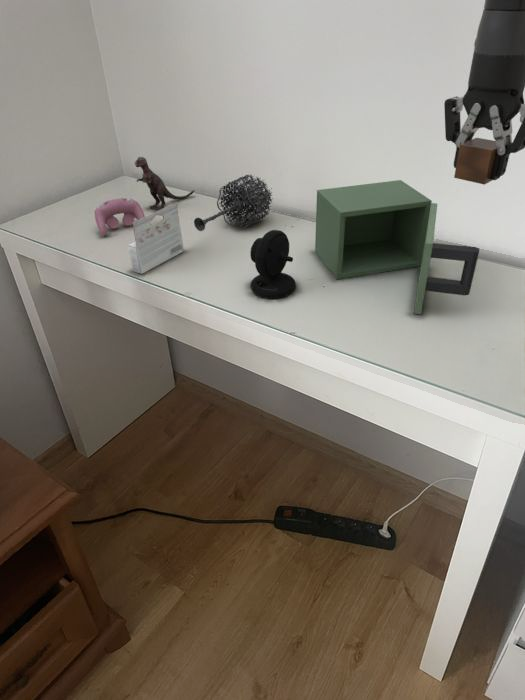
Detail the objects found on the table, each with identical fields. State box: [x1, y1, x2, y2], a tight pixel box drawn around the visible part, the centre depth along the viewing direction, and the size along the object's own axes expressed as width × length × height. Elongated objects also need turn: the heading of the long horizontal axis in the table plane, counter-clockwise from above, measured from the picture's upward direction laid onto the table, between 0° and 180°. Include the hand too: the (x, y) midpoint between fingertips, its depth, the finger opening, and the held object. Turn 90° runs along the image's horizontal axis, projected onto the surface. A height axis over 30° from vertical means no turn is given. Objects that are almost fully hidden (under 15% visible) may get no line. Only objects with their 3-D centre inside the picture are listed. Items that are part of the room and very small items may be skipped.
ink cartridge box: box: [127, 201, 185, 275], centre depth 94 cm, size 2×11×10 cm, turn 144°
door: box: [413, 202, 480, 315], centre depth 81 cm, size 7×16×12 cm, turn 163°
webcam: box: [250, 229, 297, 300], centre depth 85 cm, size 8×8×10 cm
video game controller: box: [94, 197, 146, 237], centre depth 109 cm, size 10×5×7 cm, turn 116°
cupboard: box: [314, 179, 433, 280], centre depth 92 cm, size 11×16×12 cm
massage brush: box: [193, 174, 274, 232], centre depth 106 cm, size 9×22×9 cm, turn 144°
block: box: [453, 137, 497, 186], centre depth 80 cm, size 5×5×5 cm
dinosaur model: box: [134, 156, 195, 212], centre depth 117 cm, size 4×12×15 cm
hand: (477, 174), depth 81 cm, fingers closed on block, 5 cm apart
